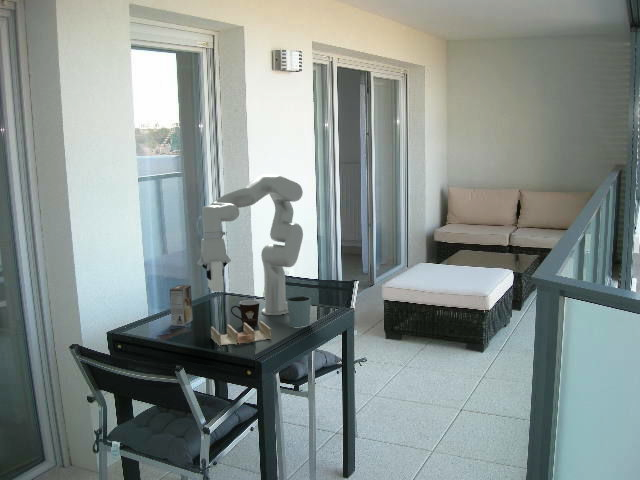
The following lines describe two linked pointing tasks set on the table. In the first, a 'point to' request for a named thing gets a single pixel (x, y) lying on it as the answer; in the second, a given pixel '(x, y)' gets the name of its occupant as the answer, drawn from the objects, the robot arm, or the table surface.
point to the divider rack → (241, 334)
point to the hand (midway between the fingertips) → (215, 278)
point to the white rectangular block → (216, 276)
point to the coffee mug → (248, 312)
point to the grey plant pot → (299, 310)
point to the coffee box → (181, 305)
